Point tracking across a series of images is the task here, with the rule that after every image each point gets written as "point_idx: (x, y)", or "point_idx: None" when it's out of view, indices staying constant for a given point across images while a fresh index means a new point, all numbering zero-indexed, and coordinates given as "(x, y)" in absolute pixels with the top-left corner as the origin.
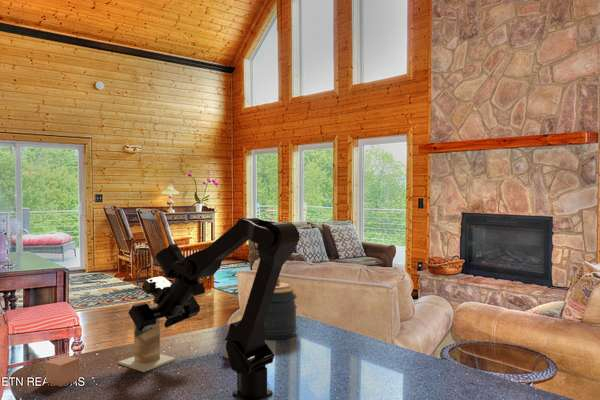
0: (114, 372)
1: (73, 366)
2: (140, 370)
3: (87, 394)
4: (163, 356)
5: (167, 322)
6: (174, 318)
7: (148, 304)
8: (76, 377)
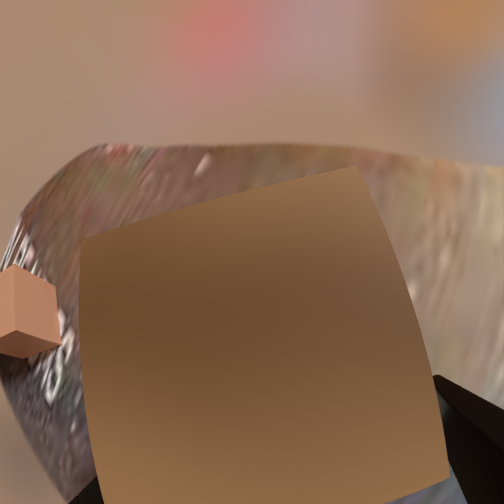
0: None
1: (17, 340)
2: None
3: (40, 463)
4: None
5: (445, 418)
6: (483, 492)
7: (331, 240)
8: (50, 346)
